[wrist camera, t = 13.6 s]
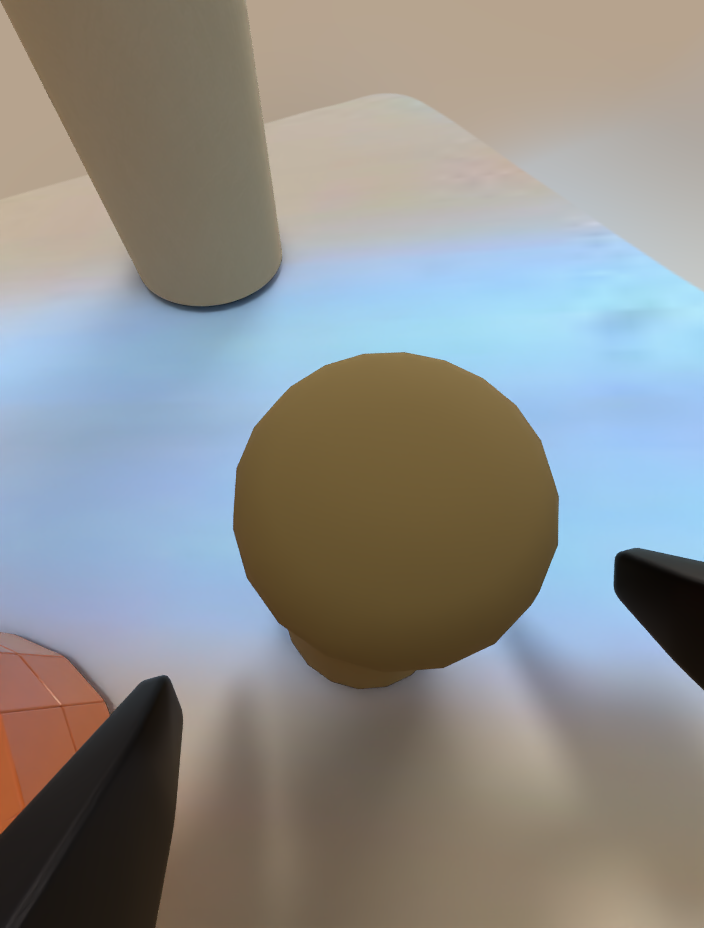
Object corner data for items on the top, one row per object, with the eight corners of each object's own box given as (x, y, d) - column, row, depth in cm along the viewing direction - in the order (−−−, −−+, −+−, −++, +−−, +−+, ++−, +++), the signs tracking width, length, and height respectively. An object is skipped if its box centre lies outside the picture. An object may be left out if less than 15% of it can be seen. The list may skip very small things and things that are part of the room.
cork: (334, 729, 13) (312, 875, 4) (255, 567, 16) (110, 386, 6) (479, 626, 15) (745, 529, 5) (388, 493, 17) (448, 251, 7)
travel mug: (300, 232, 25) (225, -560, 9) (253, 324, 21) (-13, -720, 5) (179, 209, 26) (-89, -555, 10) (114, 295, 22) (-478, -692, 6)
